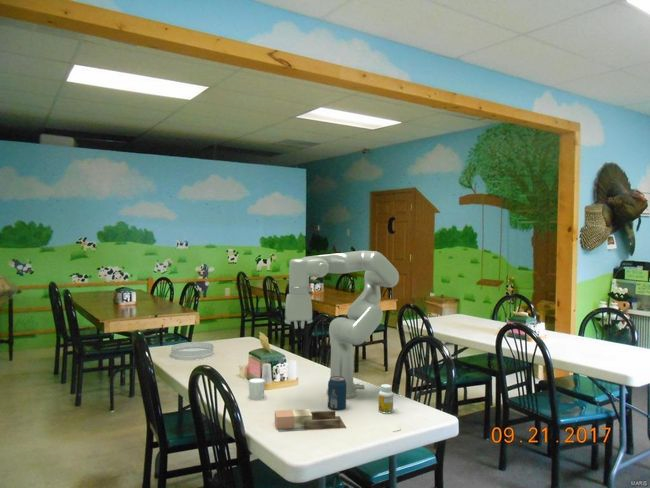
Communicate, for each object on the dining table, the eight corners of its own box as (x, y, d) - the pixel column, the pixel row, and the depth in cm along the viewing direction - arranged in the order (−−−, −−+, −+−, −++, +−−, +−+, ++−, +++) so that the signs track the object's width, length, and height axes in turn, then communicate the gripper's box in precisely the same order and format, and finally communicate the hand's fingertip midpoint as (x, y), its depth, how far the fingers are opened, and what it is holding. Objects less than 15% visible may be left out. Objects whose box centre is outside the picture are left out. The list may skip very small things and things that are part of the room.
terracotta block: (291, 421, 172) (292, 409, 172) (294, 428, 166) (294, 416, 166) (274, 422, 171) (274, 410, 171) (276, 429, 165) (276, 417, 165)
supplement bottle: (377, 408, 189) (377, 383, 189) (391, 408, 189) (391, 383, 189) (379, 414, 184) (380, 388, 183) (394, 413, 184) (394, 387, 184)
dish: (200, 348, 280) (201, 340, 280) (221, 356, 264) (221, 347, 264) (163, 354, 265) (163, 345, 265) (183, 363, 249) (183, 353, 249)
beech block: (308, 420, 173) (309, 409, 173) (311, 427, 167) (312, 415, 167) (291, 421, 172) (292, 410, 172) (294, 428, 166) (294, 416, 166)
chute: (339, 418, 178) (339, 409, 178) (346, 430, 167) (346, 420, 167) (275, 422, 173) (275, 412, 173) (278, 434, 163) (278, 424, 163)
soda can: (343, 406, 191) (344, 375, 191) (347, 412, 184) (348, 380, 184) (326, 407, 190) (326, 376, 189) (329, 413, 183) (330, 381, 183)
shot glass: (262, 401, 195) (262, 383, 195) (245, 399, 196) (245, 382, 196) (267, 395, 202) (267, 378, 201) (251, 394, 203) (251, 377, 203)
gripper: (315, 289, 196) (315, 335, 196) (278, 290, 192) (277, 337, 193) (320, 291, 189) (319, 339, 189) (281, 292, 185) (280, 341, 185)
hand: (298, 338), depth 191 cm, fingers closed
